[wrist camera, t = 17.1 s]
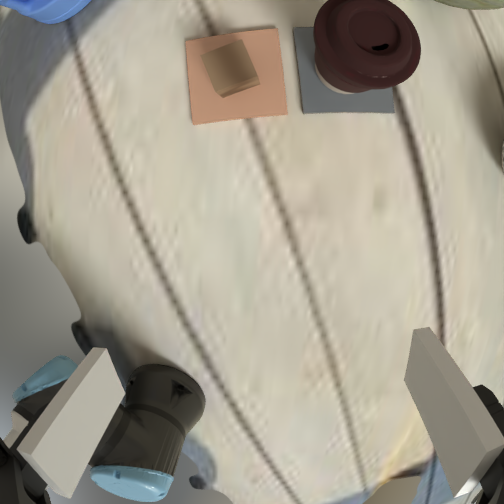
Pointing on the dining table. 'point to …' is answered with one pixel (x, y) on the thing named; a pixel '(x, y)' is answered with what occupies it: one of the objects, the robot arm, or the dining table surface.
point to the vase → (474, 4)
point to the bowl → (503, 156)
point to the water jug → (46, 9)
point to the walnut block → (230, 69)
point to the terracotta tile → (244, 102)
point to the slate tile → (325, 99)
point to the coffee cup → (364, 45)
